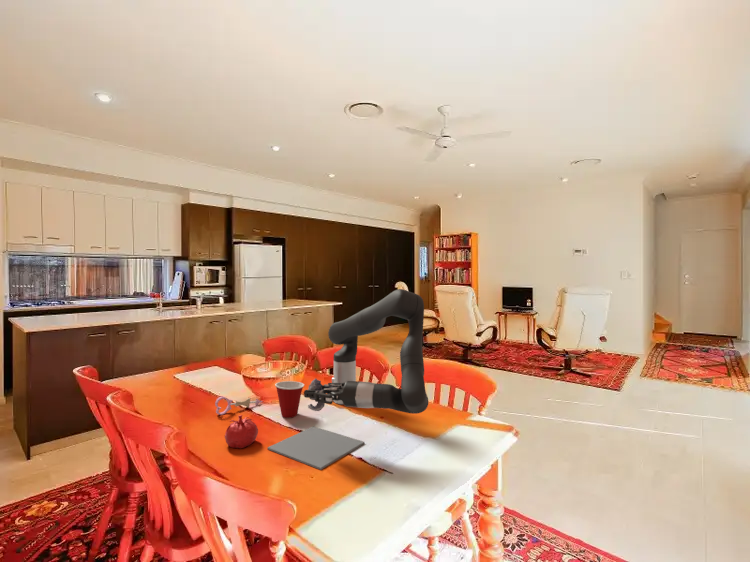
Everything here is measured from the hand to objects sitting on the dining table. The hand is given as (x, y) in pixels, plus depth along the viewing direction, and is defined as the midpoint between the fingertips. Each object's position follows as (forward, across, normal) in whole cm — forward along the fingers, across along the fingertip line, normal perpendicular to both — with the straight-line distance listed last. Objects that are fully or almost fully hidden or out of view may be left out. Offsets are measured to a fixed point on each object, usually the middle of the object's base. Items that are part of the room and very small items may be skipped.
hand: (308, 390), depth 123 cm
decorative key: (+40, -23, +17) cm, 49 cm away
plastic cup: (+18, -22, +17) cm, 34 cm away
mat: (-2, 0, +17) cm, 17 cm away
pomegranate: (+22, +4, +17) cm, 28 cm away
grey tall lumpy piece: (-3, 0, +6) cm, 7 cm away
